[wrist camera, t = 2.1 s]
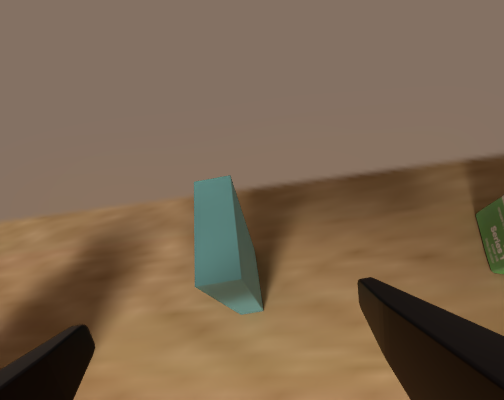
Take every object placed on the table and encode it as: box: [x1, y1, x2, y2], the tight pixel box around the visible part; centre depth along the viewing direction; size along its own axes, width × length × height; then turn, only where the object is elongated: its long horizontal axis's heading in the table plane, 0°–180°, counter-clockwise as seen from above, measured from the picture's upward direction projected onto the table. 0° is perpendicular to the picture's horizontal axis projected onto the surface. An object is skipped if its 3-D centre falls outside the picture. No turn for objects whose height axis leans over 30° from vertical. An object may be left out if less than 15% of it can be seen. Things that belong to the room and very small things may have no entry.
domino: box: [194, 176, 263, 314], centre depth 13 cm, size 2×4×10 cm, turn 8°
